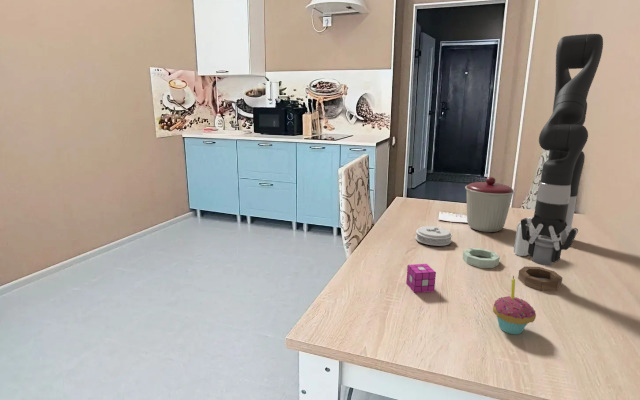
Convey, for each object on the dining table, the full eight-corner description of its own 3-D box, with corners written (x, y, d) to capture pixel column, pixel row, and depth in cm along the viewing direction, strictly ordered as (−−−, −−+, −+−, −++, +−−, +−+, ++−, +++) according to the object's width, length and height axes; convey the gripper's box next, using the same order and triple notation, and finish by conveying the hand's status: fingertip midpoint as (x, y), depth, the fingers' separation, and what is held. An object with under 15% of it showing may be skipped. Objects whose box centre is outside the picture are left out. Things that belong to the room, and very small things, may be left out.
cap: (535, 256, 112) (538, 236, 110) (556, 262, 108) (559, 241, 107) (528, 261, 108) (531, 241, 107) (549, 267, 105) (553, 246, 103)
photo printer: (527, 247, 136) (533, 213, 133) (540, 251, 133) (545, 217, 130) (511, 253, 131) (516, 218, 128) (523, 257, 127) (529, 221, 124)
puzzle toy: (425, 282, 109) (426, 263, 108) (434, 291, 104) (436, 272, 102) (406, 283, 108) (407, 264, 107) (414, 293, 103) (415, 273, 101)
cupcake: (483, 318, 91) (489, 271, 88) (518, 317, 92) (525, 270, 89) (503, 340, 83) (510, 289, 80) (541, 339, 83) (550, 288, 80)
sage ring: (472, 252, 131) (473, 245, 130) (502, 261, 124) (503, 254, 123) (458, 260, 124) (458, 253, 124) (489, 270, 117) (489, 262, 116)
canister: (512, 226, 159) (519, 176, 154) (505, 239, 144) (513, 183, 139) (466, 219, 168) (471, 171, 163) (456, 230, 154) (461, 178, 148)
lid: (447, 236, 147) (448, 224, 146) (454, 249, 135) (456, 235, 133) (413, 235, 148) (414, 222, 147) (417, 247, 136) (418, 233, 135)
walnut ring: (526, 271, 117) (528, 263, 116) (564, 282, 110) (565, 274, 109) (513, 281, 110) (515, 273, 109) (552, 294, 103) (554, 285, 102)
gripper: (587, 202, 101) (576, 263, 105) (529, 193, 111) (520, 248, 116) (579, 207, 96) (567, 270, 100) (519, 196, 106) (510, 254, 111)
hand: (542, 258), depth 108 cm, fingers closed on cap, 5 cm apart
